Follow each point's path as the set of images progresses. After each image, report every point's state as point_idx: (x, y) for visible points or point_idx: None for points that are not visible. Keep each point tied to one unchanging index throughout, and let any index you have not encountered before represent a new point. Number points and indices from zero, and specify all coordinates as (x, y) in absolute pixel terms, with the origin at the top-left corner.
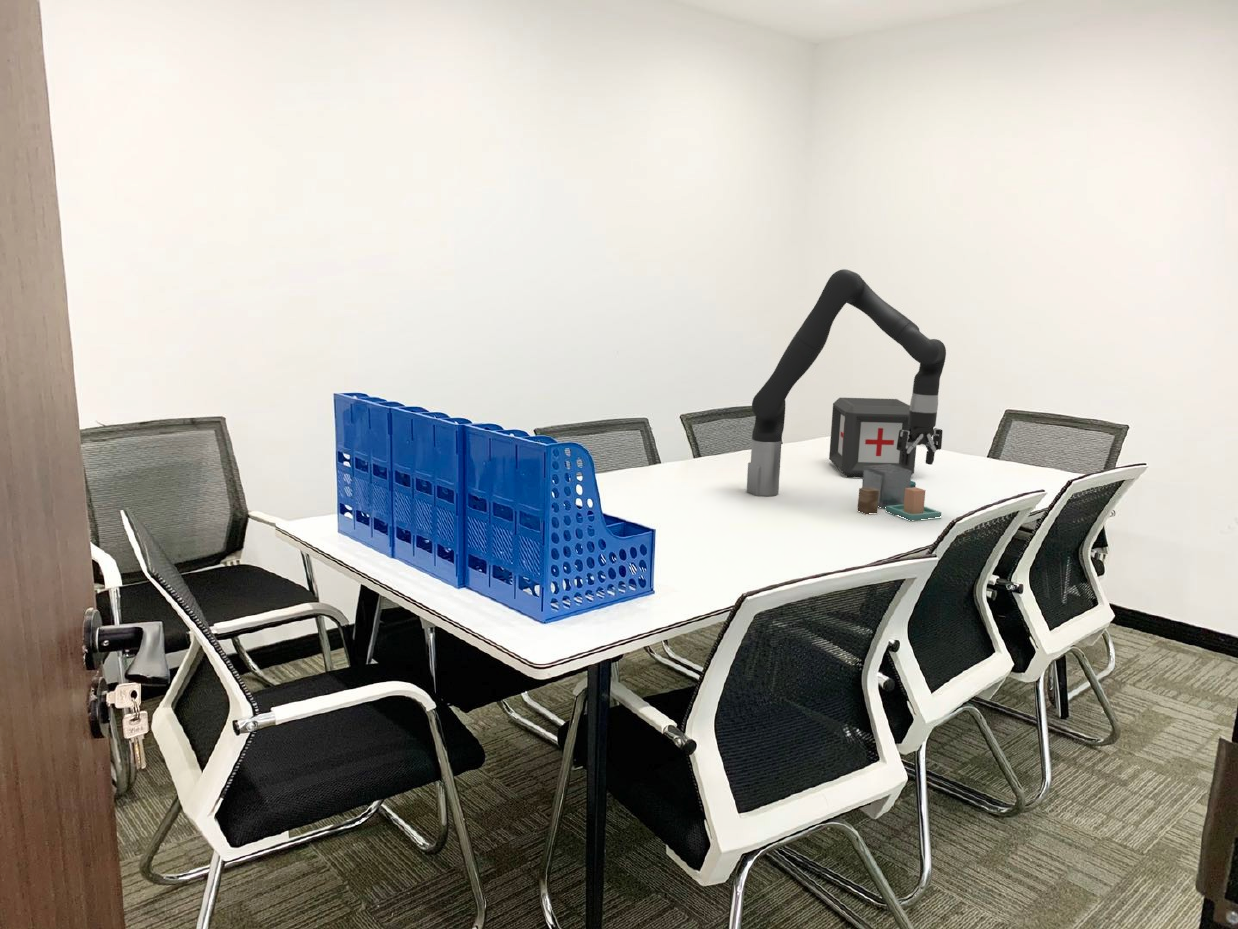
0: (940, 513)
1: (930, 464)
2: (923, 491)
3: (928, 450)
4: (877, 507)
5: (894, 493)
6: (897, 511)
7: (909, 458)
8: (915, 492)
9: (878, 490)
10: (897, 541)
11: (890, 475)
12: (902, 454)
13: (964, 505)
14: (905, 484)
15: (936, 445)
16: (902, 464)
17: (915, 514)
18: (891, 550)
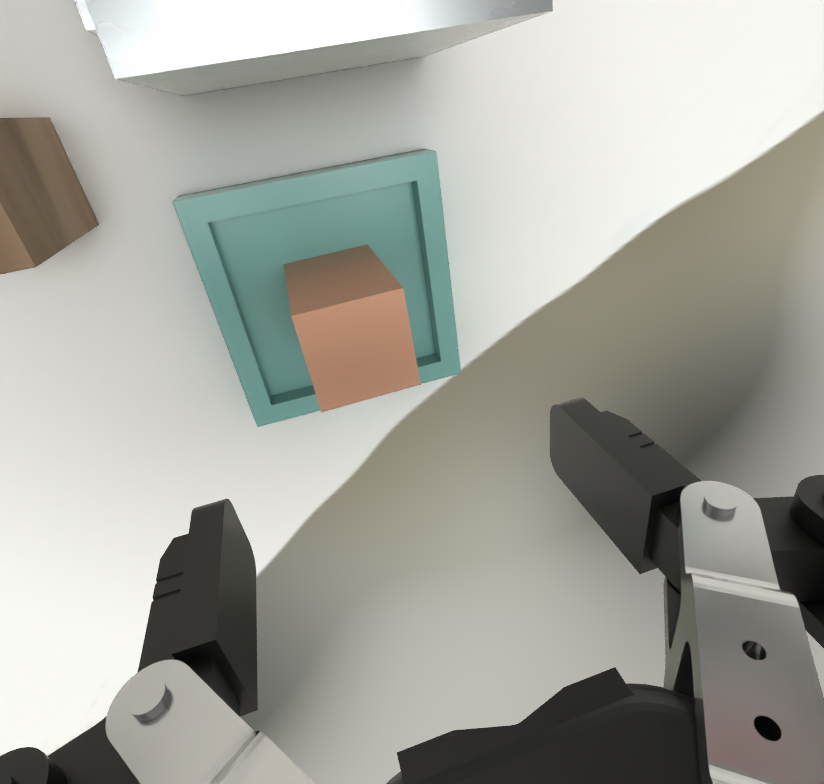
0: (453, 371)
1: (557, 460)
2: (401, 385)
3: (666, 521)
4: (85, 233)
5: (296, 70)
6: (217, 319)
7: (251, 644)
8: (328, 405)
9: (30, 266)
10: (65, 663)
11: (221, 65)
12: (145, 660)
13: (752, 114)
14: (428, 42)
15: (820, 587)
16: (196, 512)
17: (292, 409)
18: (2, 746)
